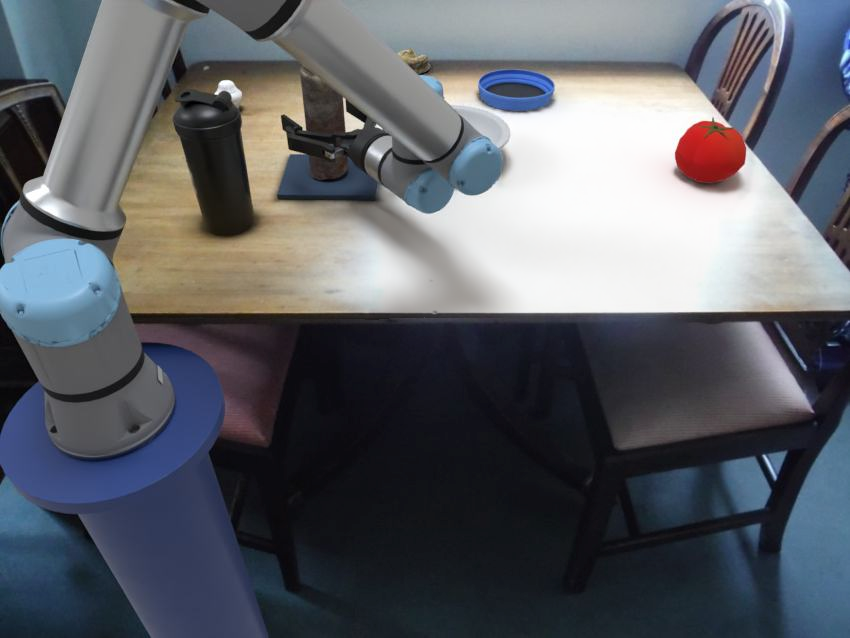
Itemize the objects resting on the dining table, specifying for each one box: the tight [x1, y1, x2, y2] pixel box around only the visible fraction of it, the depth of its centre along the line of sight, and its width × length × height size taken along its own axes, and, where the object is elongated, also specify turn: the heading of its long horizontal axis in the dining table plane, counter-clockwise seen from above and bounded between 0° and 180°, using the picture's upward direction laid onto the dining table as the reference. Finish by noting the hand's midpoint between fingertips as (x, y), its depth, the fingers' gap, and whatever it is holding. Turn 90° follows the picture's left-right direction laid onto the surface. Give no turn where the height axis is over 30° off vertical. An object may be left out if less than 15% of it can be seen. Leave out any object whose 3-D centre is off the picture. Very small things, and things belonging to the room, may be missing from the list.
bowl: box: [477, 68, 556, 112], centre depth 157 cm, size 18×18×4 cm
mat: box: [276, 153, 378, 201], centre depth 127 cm, size 18×16×1 cm
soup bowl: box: [450, 104, 511, 150], centre depth 132 cm, size 24×24×7 cm
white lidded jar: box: [214, 79, 243, 110], centre depth 149 cm, size 6×6×7 cm
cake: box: [396, 47, 431, 75], centre depth 170 cm, size 10×10×5 cm
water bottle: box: [172, 88, 256, 237], centre depth 108 cm, size 10×10×23 cm
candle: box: [299, 65, 348, 180], centre depth 121 cm, size 8×7×20 cm
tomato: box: [674, 116, 747, 184], centre depth 127 cm, size 13×12×11 cm
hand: (316, 112), depth 122 cm, fingers open, 13 cm apart
